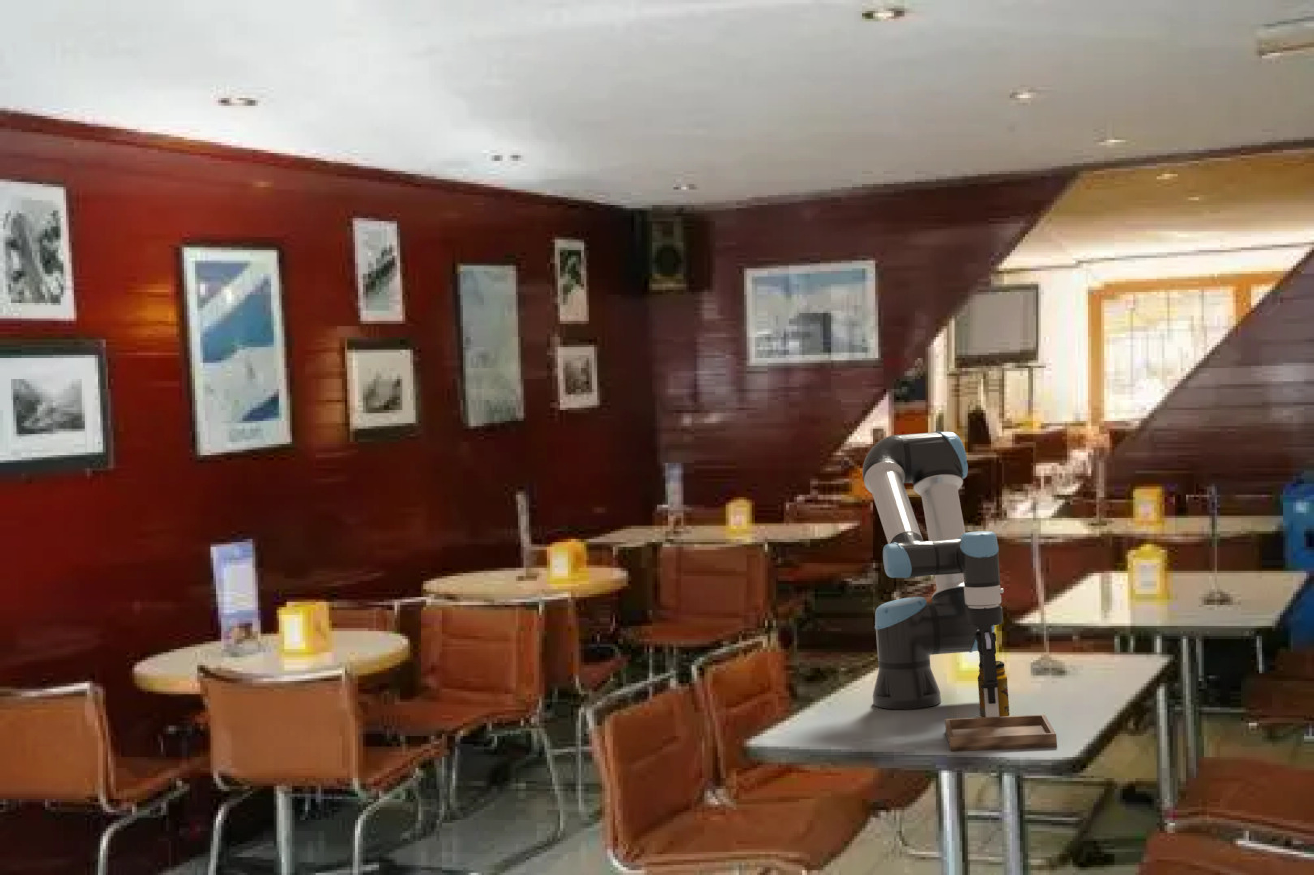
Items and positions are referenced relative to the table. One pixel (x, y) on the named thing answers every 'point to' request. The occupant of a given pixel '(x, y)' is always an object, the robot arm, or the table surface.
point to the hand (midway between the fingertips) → (991, 714)
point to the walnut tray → (1000, 733)
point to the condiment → (1001, 689)
